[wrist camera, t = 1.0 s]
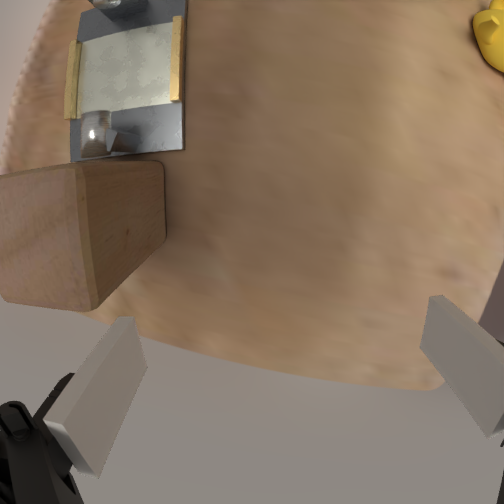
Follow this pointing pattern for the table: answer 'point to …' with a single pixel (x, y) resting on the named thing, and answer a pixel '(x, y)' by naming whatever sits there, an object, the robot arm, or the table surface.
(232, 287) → the table surface
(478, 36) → the yellow rounded piece
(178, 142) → the grey metal fixture stand
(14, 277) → the wooden block
